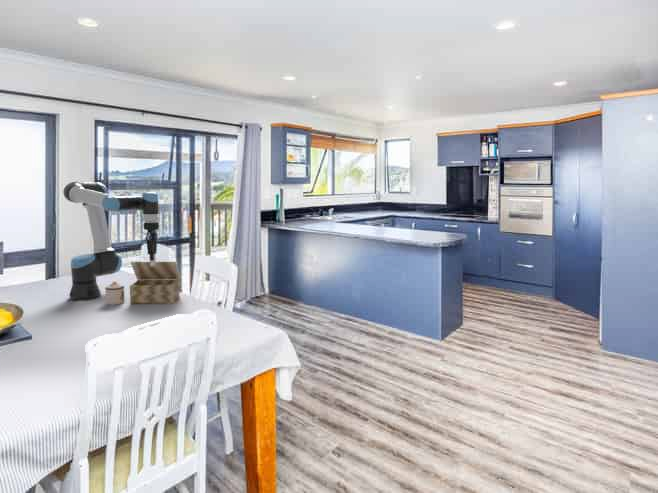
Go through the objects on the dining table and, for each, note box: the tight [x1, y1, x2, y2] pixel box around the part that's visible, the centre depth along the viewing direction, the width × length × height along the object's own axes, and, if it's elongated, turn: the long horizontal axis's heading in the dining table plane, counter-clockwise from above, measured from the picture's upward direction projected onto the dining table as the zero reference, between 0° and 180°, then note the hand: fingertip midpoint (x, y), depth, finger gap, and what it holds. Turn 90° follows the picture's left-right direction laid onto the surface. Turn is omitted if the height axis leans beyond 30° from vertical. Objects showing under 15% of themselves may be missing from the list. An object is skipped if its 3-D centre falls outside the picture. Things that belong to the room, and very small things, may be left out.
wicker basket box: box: [129, 279, 180, 305], centre depth 233 cm, size 22×14×10 cm, turn 97°
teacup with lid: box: [104, 280, 125, 306], centre depth 228 cm, size 12×9×12 cm
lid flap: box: [130, 261, 181, 281], centre depth 234 cm, size 23×14×1 cm
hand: (152, 266), depth 228 cm, fingers closed
